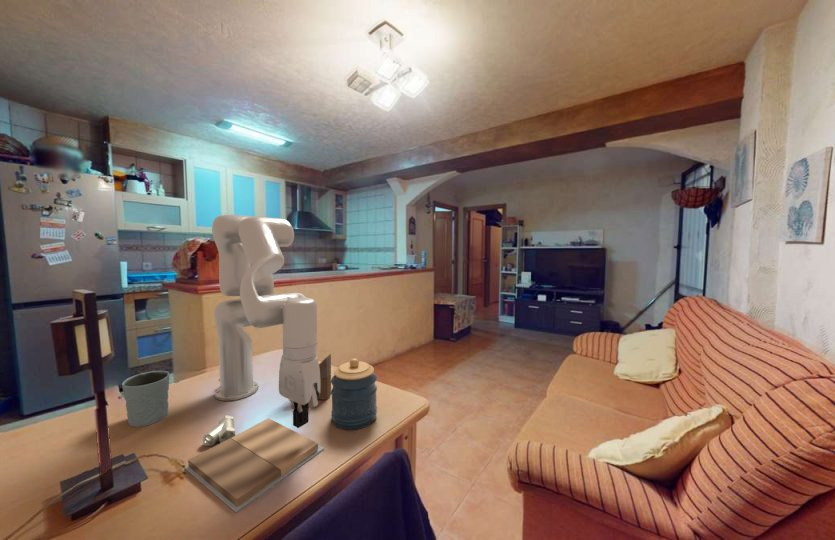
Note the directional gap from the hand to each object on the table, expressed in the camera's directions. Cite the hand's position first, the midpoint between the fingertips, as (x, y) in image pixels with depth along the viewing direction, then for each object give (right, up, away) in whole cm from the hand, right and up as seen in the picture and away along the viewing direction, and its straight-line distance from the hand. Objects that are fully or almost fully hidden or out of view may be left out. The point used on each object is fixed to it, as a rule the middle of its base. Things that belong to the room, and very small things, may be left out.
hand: (300, 424), depth 74 cm
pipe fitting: (-23, -7, +5) cm, 25 cm away
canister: (+10, -6, +16) cm, 19 cm away
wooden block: (-6, -5, +28) cm, 29 cm away
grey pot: (-49, -6, +14) cm, 51 cm away
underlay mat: (-9, -7, -2) cm, 12 cm away
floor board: (-12, -7, -7) cm, 16 cm away
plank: (-7, -6, +1) cm, 9 cm away
